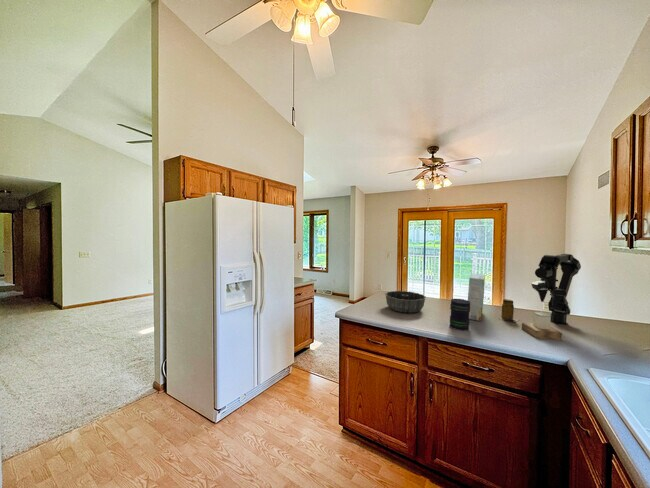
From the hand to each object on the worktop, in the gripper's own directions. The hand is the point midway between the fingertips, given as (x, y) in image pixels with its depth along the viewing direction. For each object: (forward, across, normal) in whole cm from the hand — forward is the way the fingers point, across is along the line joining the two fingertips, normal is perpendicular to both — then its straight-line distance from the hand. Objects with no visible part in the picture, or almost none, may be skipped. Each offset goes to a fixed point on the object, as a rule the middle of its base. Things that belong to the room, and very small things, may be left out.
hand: (547, 303), depth 151 cm
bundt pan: (+13, -18, -77) cm, 80 cm away
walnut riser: (+14, +14, -12) cm, 23 cm away
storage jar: (+13, +11, -52) cm, 55 cm away
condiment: (+13, -8, -16) cm, 22 cm away
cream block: (+9, +14, -12) cm, 21 cm away
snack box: (+13, -12, -34) cm, 38 cm away
